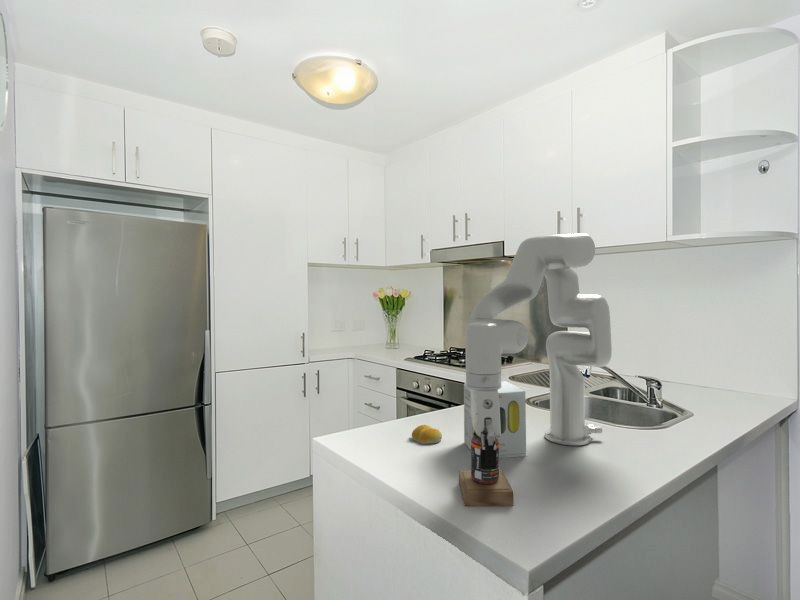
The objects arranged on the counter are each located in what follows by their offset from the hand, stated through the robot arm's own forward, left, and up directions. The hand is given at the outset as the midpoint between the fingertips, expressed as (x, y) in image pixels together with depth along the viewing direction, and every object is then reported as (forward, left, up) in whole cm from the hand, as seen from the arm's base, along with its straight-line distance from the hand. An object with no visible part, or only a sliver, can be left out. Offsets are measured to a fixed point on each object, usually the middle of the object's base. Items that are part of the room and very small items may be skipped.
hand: (484, 458), depth 92 cm
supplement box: (-7, -26, -8) cm, 28 cm away
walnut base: (0, 0, -8) cm, 8 cm away
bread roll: (+11, -34, -8) cm, 37 cm away
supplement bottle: (0, 0, -5) cm, 5 cm away
